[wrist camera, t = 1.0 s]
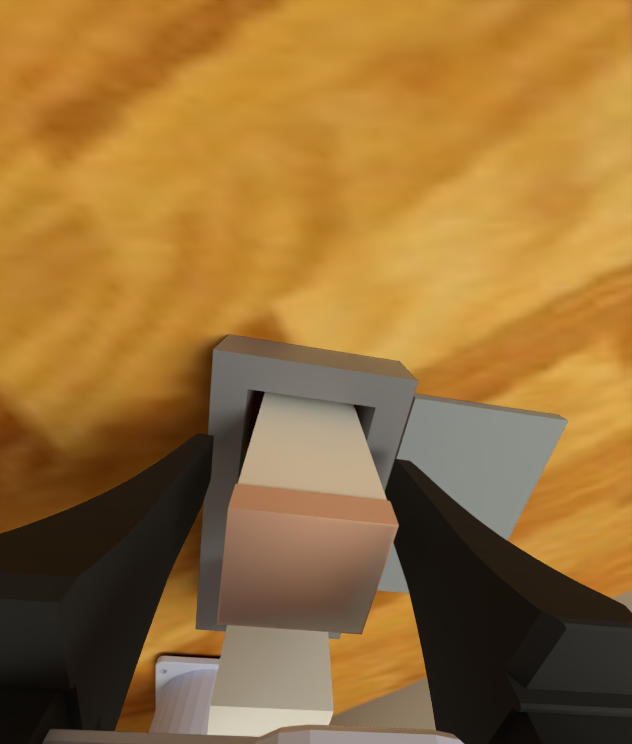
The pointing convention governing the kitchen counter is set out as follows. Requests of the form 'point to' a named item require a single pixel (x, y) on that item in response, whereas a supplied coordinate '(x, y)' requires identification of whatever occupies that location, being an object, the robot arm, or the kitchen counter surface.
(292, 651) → the plug
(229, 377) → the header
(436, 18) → the kitchen counter surface
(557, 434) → the mat
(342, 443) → the plug
